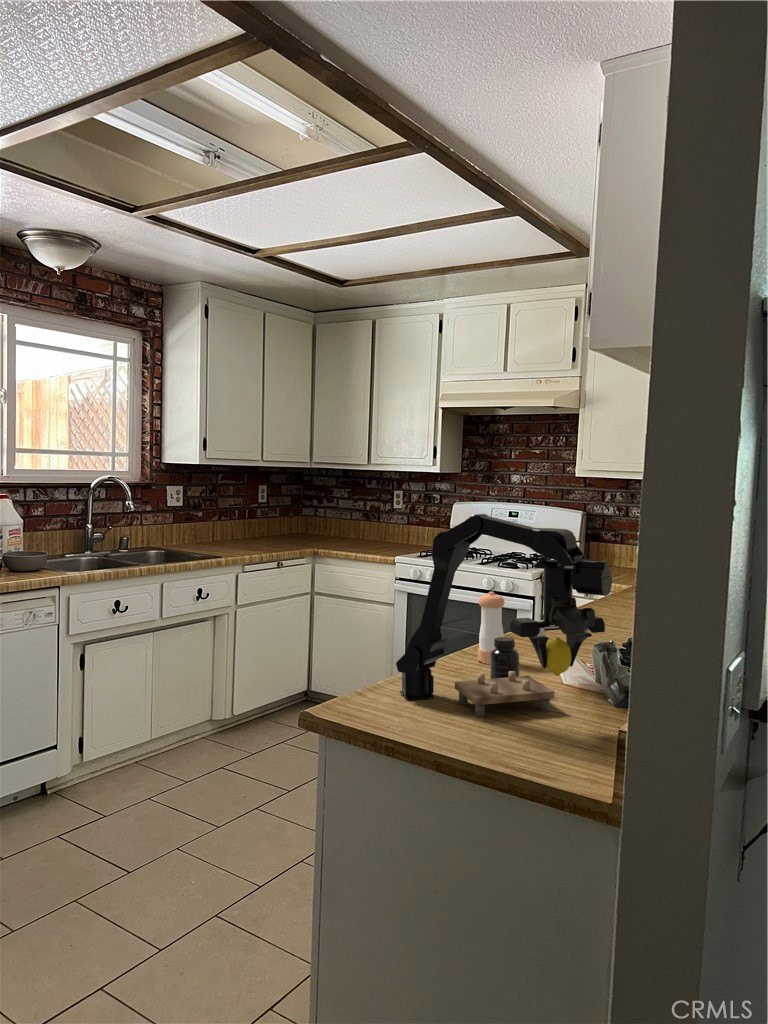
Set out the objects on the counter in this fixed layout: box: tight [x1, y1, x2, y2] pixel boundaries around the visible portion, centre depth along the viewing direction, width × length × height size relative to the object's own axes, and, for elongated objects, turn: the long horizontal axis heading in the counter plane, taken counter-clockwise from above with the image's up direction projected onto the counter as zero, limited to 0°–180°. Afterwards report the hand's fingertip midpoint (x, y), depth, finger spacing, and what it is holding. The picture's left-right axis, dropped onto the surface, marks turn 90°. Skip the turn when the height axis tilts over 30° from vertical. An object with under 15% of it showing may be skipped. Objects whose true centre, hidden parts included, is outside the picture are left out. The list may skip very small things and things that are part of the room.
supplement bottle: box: [489, 636, 520, 679], centre depth 183 cm, size 7×7×12 cm
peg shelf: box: [454, 671, 555, 719], centre depth 169 cm, size 18×13×6 cm
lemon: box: [546, 636, 571, 677], centre depth 157 cm, size 6×6×8 cm
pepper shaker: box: [477, 591, 506, 664], centre depth 209 cm, size 7×7×19 cm
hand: (557, 667), depth 157 cm, fingers closed on lemon, 5 cm apart
